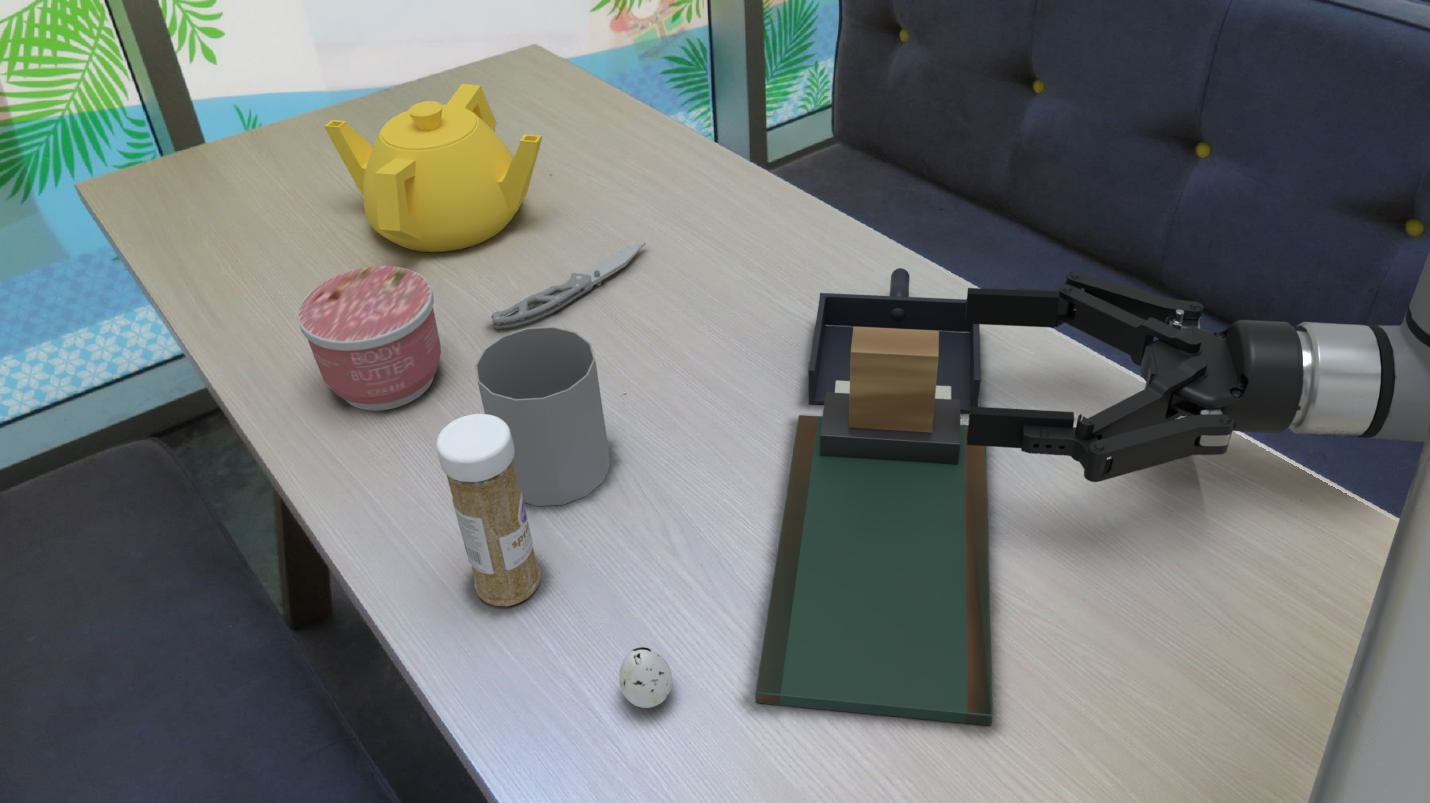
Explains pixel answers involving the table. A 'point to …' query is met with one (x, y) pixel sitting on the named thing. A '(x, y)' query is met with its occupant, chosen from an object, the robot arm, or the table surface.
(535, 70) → the table surface
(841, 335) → the dustpan
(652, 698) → the egg
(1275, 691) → the table surface
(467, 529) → the sprinkles bottle
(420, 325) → the container
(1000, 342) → the table surface
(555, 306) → the knife
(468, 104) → the teapot
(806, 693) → the chalkboard
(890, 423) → the eraser
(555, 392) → the cup
